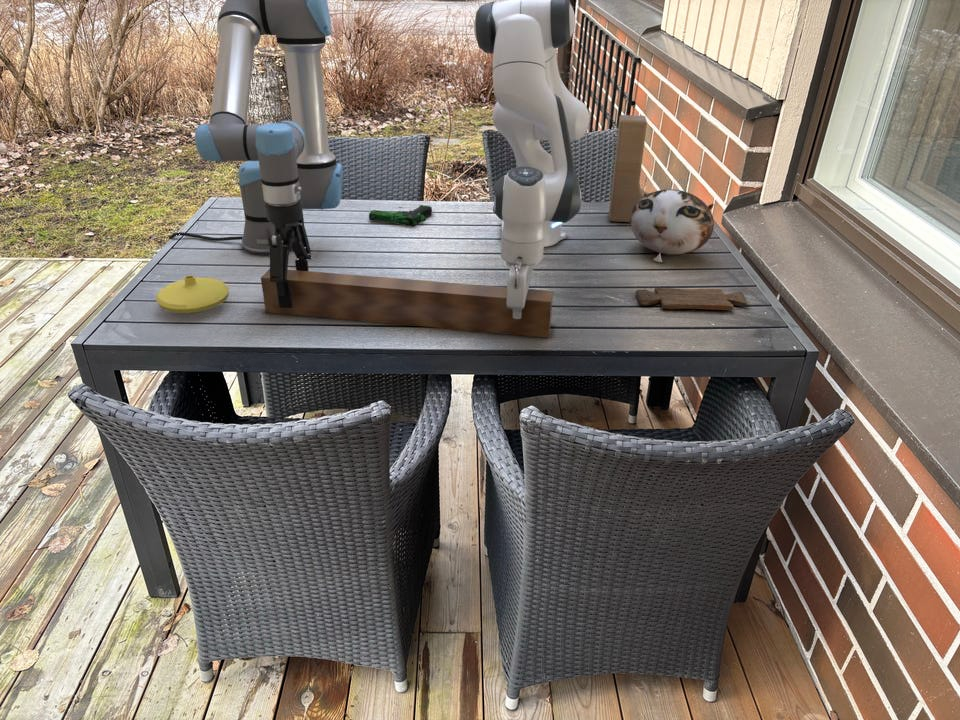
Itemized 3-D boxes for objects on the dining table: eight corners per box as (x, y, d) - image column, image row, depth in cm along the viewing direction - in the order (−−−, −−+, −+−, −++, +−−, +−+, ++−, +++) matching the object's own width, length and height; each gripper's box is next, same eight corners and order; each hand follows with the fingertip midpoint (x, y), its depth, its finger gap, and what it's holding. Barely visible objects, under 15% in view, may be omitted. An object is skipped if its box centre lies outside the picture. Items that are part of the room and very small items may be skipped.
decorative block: (659, 224, 215) (674, 122, 200) (609, 221, 217) (620, 119, 201) (657, 216, 221) (672, 116, 206) (608, 213, 223) (619, 114, 208)
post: (265, 312, 162) (260, 277, 158) (275, 302, 167) (270, 267, 162) (548, 337, 154) (551, 301, 150) (550, 326, 159) (553, 290, 154)
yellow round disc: (203, 285, 174) (198, 258, 170) (245, 302, 166) (240, 274, 162) (144, 308, 163) (137, 279, 159) (186, 328, 155) (179, 298, 151)
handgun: (437, 205, 219) (415, 219, 207) (438, 215, 220) (415, 229, 208) (391, 199, 224) (366, 212, 212) (391, 208, 226) (367, 222, 214)
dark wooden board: (752, 313, 165) (739, 295, 174) (753, 306, 165) (741, 288, 173) (640, 309, 166) (633, 291, 174) (641, 302, 165) (634, 284, 173)
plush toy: (610, 241, 188) (634, 172, 190) (626, 265, 204) (648, 200, 205) (693, 258, 178) (718, 184, 179) (703, 281, 193) (726, 213, 195)
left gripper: (278, 220, 140) (291, 320, 152) (319, 186, 160) (328, 277, 171) (242, 218, 141) (258, 317, 153) (287, 184, 161) (298, 275, 172)
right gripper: (532, 270, 138) (528, 333, 145) (541, 232, 155) (538, 290, 162) (500, 267, 139) (498, 330, 146) (512, 230, 156) (510, 288, 163)
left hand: (295, 296), depth 162 cm, fingers open, 10 cm apart
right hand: (519, 309), depth 154 cm, fingers open, 7 cm apart
